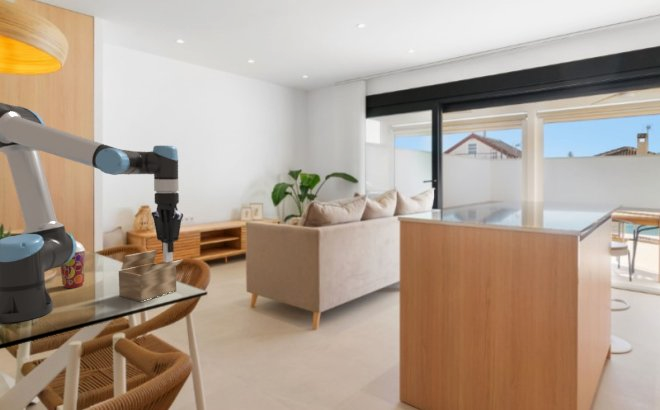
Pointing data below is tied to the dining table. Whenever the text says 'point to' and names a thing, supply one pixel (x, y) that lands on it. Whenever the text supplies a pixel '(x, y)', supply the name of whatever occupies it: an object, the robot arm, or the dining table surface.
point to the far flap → (138, 259)
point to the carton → (146, 282)
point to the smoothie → (74, 268)
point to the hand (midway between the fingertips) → (168, 261)
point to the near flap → (163, 267)
